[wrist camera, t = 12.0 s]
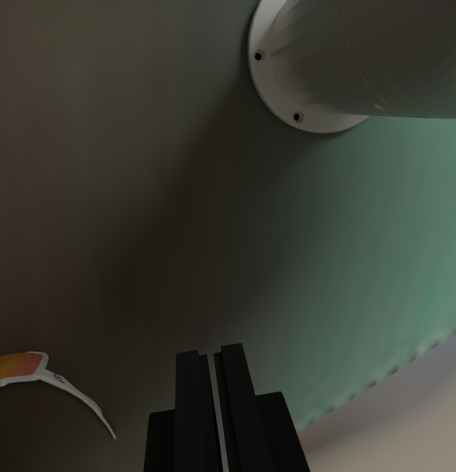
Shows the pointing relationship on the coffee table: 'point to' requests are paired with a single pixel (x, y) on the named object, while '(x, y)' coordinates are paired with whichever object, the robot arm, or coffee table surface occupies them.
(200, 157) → the coffee table surface
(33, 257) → the coffee table surface
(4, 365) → the sunglasses
